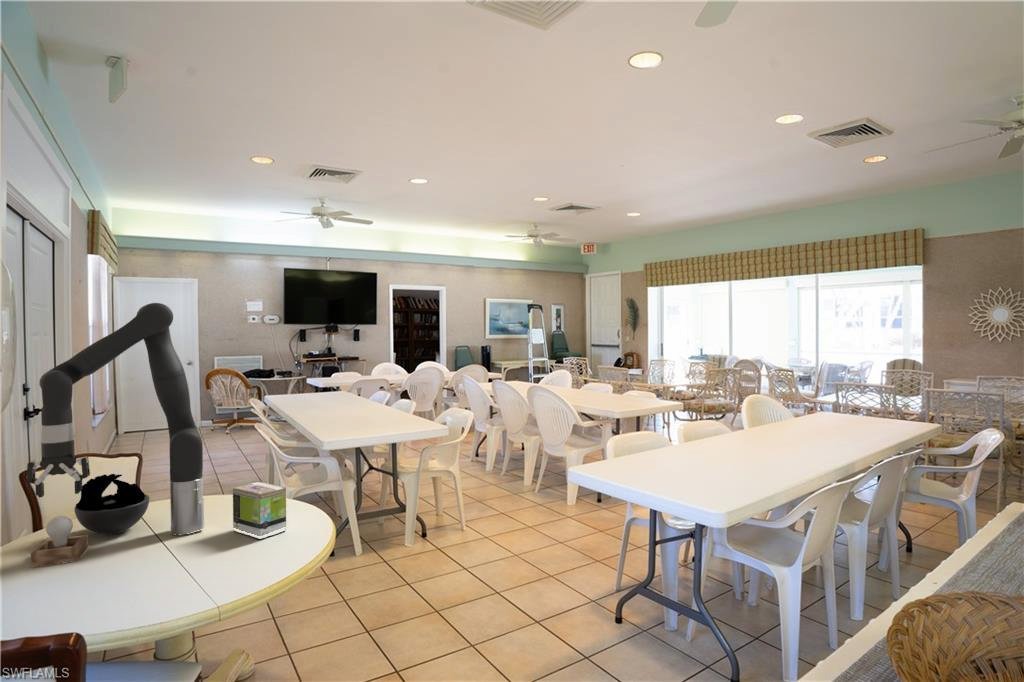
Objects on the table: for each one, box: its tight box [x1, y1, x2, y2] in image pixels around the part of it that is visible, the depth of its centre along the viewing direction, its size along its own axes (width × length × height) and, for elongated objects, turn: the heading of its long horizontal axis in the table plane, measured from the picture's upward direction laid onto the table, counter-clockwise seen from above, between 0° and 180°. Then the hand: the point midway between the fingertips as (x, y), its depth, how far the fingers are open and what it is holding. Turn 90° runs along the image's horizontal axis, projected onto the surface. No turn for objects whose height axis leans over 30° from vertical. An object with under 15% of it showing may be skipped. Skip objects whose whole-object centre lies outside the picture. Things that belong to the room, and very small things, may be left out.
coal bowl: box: [74, 473, 150, 535], centre depth 185 cm, size 20×20×19 cm
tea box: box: [232, 481, 287, 536], centre depth 186 cm, size 15×10×15 cm, turn 58°
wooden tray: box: [29, 534, 90, 568], centre depth 165 cm, size 11×11×4 cm
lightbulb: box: [45, 515, 74, 548], centre depth 165 cm, size 6×6×11 cm
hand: (59, 494), depth 165 cm, fingers open, 8 cm apart
